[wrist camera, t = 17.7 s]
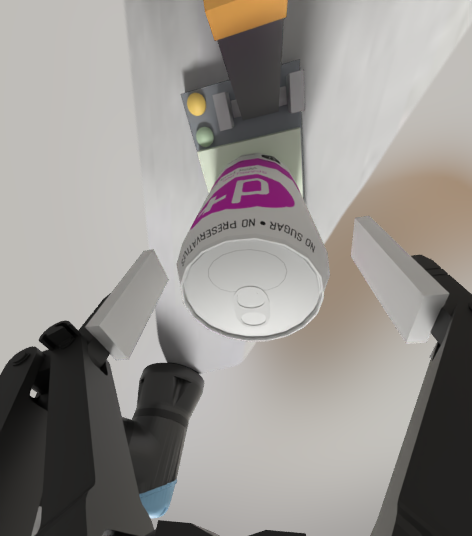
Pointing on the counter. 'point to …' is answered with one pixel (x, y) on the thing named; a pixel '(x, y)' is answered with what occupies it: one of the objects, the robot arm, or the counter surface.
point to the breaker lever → (251, 52)
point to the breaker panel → (247, 127)
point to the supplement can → (253, 254)
